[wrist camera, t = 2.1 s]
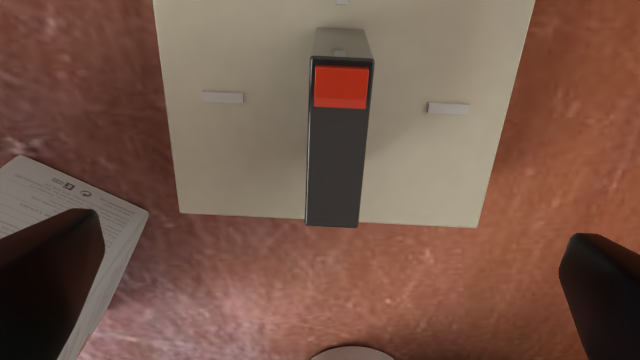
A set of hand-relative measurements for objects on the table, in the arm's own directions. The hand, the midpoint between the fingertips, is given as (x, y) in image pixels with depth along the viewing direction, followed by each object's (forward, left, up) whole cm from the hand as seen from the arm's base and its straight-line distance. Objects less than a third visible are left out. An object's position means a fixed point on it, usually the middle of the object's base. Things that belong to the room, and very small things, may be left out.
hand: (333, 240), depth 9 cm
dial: (0, 0, -8) cm, 8 cm away
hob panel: (0, 0, -11) cm, 11 cm away
